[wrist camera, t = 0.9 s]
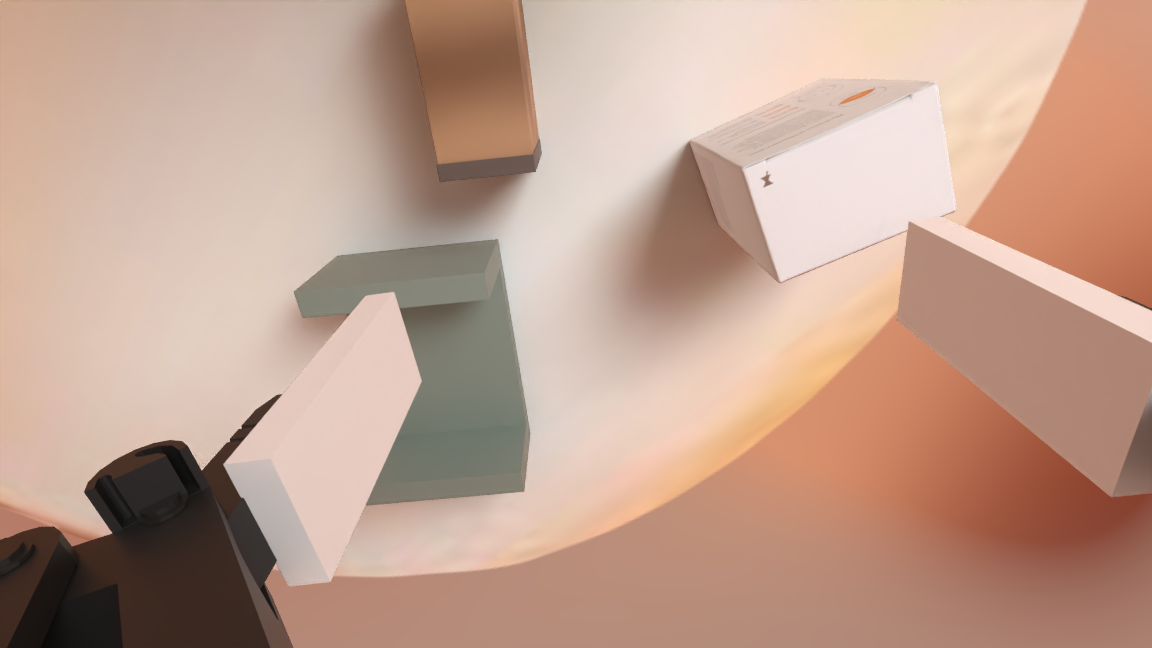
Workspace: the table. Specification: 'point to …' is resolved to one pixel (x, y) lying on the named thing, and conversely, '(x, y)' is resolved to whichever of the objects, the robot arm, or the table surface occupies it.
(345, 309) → the bracket
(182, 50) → the table surface
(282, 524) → the robot arm
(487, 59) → the rail end
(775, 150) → the small box
